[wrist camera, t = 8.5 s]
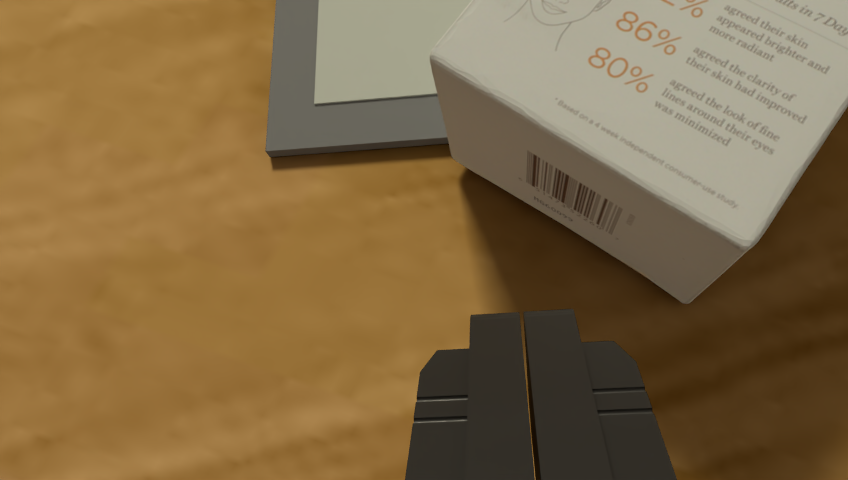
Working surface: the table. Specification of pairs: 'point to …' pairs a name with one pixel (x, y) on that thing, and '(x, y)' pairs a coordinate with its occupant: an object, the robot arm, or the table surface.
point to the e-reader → (355, 75)
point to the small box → (647, 117)
